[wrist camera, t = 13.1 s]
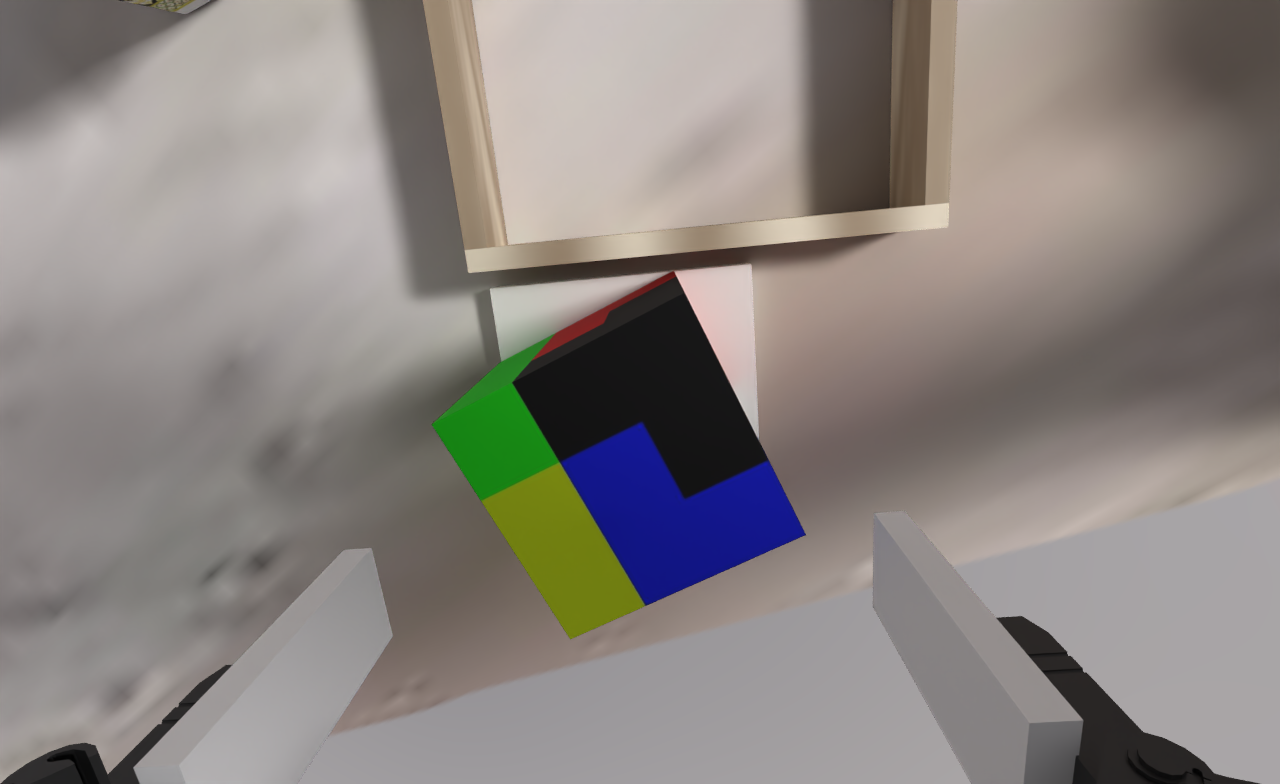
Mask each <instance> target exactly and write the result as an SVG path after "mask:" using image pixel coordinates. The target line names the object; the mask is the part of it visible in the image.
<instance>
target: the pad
mask: <svg viewBox="0 0 1280 784" xmlns="http://www.w3.org/2000/svg"><path fill="white" fill-rule="evenodd" d="M672 271H674V272H675V274H676V276H677V278H678V280H679V282H680V284H681V286H682V288H683V290H684V292H685V294H686V296H687V298H688V300H689V302H690V304H691V306H692V308H693V310H694V312H695V314H696V316H697V318H698V320H699V322H700V324H701V326H702V328H703V330H704V332H705V334H706V336H707V338H708V340H709V342H710V344H711V346H712V348H713V350H714V352H715V354H716V356H717V358H718V360H719V362H720V364H721V366H722V368H723V370H724V372H725V374H726V376H727V378H728V380H729V382H730V384H731V386H732V388H733V390H734V392H735V394H736V396H737V398H738V400H739V402H740V404H741V406H742V408H743V410H744V412H745V414H746V416H747V418H748V420H749V422H750V424H751V426H752V428H753V430H754V432H755V434H756V436H757V438H758V440H759V425H758V402H757V379H756V357H755V334H754V311H753V288H752V266H751V264H750V263H742V264H731V265H720V266H710V267H699V268H689V269H678V270H668V271H657V272H646V273H636V274H625V275H615V276H604V277H594V278H583V279H572V280H562V281H551V282H541V283H530V284H519V285H509V286H498V287H493V288H490V295H491V301H492V307H493V313H494V320H495V326H496V332H497V338H498V345H499V351H500V357H501V362H502V361H504V360H505V359H507V358H509V357H511V356H513V355H515V354H517V353H519V352H521V351H523V350H524V349H526V348H528V347H530V346H532V345H534V344H536V343H538V342H540V341H541V340H543V339H545V338H547V337H549V336H551V335H553V334H555V333H557V332H559V331H560V330H562V329H564V328H566V327H568V326H570V325H572V324H574V323H576V322H577V321H579V320H581V319H583V318H585V317H587V316H589V315H591V314H593V313H594V312H596V311H598V310H600V309H602V308H604V307H606V306H608V305H610V304H612V303H613V302H615V301H617V300H619V299H621V298H623V297H625V296H627V295H629V294H630V293H632V292H634V291H636V290H638V289H640V288H642V287H644V286H646V285H648V284H649V283H651V282H653V281H655V280H657V279H659V278H661V277H663V276H665V275H666V274H668V273H670V272H672Z"/></svg>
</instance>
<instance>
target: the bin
mask: <svg viewBox="0 0 1280 784" xmlns="http://www.w3.org/2000/svg"><path fill="white" fill-rule="evenodd" d="M423 5H424V11H425V17H426V23H427V29H428V35H429V41H430V47H431V53H432V59H433V65H434V71H435V77H436V83H437V89H438V95H439V101H440V107H441V113H442V119H443V125H444V130H445V136H446V142H447V148H448V154H449V160H450V166H451V172H452V178H453V184H454V190H455V196H456V202H457V208H458V214H459V220H460V226H461V232H462V238H463V244H464V250H465V256H466V262H467V268H468V273H475V272H485V271H496V270H506V269H517V268H527V267H537V266H548V265H558V264H569V263H579V262H590V261H600V260H611V259H621V258H631V257H642V256H652V255H663V254H673V253H684V252H694V251H705V250H715V249H726V248H736V247H746V246H757V245H767V244H778V243H788V242H799V241H809V240H820V239H830V238H840V237H851V236H861V235H872V234H882V233H893V232H903V231H914V230H924V229H934V228H945V227H948V217H949V193H950V169H951V144H952V120H953V95H954V71H955V47H956V22H957V0H893V10H892V73H891V137H890V201H889V208H884V209H873V210H863V211H853V212H843V213H832V214H822V215H812V216H802V217H791V218H781V219H771V220H760V221H750V222H740V223H730V224H719V225H709V226H699V227H689V228H678V229H668V230H658V231H648V232H637V233H627V234H617V235H607V236H596V237H586V238H576V239H566V240H555V241H545V242H535V243H525V244H514V245H508V242H507V236H506V229H505V222H504V216H503V209H502V202H501V195H500V189H499V182H498V175H497V169H496V162H495V155H494V148H493V142H492V135H491V128H490V121H489V115H488V108H487V101H486V95H485V88H484V81H483V74H482V68H481V61H480V54H479V47H478V41H477V34H476V27H475V21H474V14H473V7H472V0H423Z"/></svg>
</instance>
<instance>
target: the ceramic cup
mask: <svg viewBox="0 0 1280 784" xmlns="http://www.w3.org/2000/svg"><path fill="white" fill-rule="evenodd" d="M119 1H124V2H129V3H134V4H139V5H144V6H150V7H154V8H158V9H162V10H166V11H172V12H177V13H182V14H188V13H190V12H192V11H193V10H195V9H197V8H199V7H200V6H202V5H204V4H206V3H207V2H209V1H211V0H119Z"/></svg>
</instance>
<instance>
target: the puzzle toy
mask: <svg viewBox="0 0 1280 784" xmlns="http://www.w3.org/2000/svg"><path fill="white" fill-rule="evenodd" d="M432 426H433V427H434V429H435V430H436V432H437V434H438V435H439V437H440V438H441V440H442V441H443V443H444V444H445V446H446V448H447V449H448V451H449V452H450V454H451V455H452V457H453V458H454V460H455V461H456V463H457V465H458V466H459V468H460V469H461V471H462V472H463V474H464V475H465V477H466V478H467V480H468V482H469V483H470V485H471V486H472V488H473V489H474V491H475V492H476V494H477V496H478V497H479V499H480V500H481V502H482V503H483V505H484V506H485V508H486V509H487V511H488V513H489V514H490V516H491V517H492V519H493V520H494V522H495V523H496V525H497V527H498V528H499V530H500V531H501V533H502V534H503V536H504V537H505V539H506V540H507V542H508V544H509V545H510V547H511V548H512V550H513V551H514V553H515V554H516V556H517V557H518V559H519V561H520V562H521V564H522V565H523V567H524V568H525V570H526V571H527V573H528V575H529V576H530V578H531V579H532V581H533V582H534V584H535V585H536V587H537V588H538V590H539V592H540V593H541V595H542V596H543V598H544V599H545V601H546V602H547V604H548V606H549V607H550V609H551V610H552V612H553V613H554V615H555V616H556V618H557V619H558V621H559V623H560V624H561V626H562V627H563V629H564V630H565V632H566V633H567V635H568V636H569V638H570V639H572V638H574V637H577V636H579V635H581V634H583V633H586V632H588V631H590V630H592V629H595V628H597V627H599V626H601V625H604V624H606V623H608V622H610V621H613V620H615V619H617V618H620V617H622V616H624V615H626V614H629V613H631V612H633V611H635V610H638V609H640V608H642V607H644V606H647V605H649V604H651V603H653V602H656V601H658V600H660V599H662V598H665V597H667V596H669V595H671V594H674V593H676V592H678V591H680V590H683V589H685V588H687V587H689V586H692V585H694V584H696V583H698V582H701V581H703V580H705V579H707V578H710V577H712V576H714V575H717V574H719V573H721V572H723V571H726V570H728V569H730V568H732V567H735V566H737V565H739V564H741V563H744V562H746V561H748V560H750V559H753V558H755V557H757V556H759V555H762V554H764V553H766V552H768V551H771V550H773V549H775V548H777V547H780V546H782V545H784V544H786V543H789V542H791V541H793V540H795V539H798V538H800V537H802V536H804V535H806V534H805V532H804V530H803V528H802V526H801V524H800V522H799V520H798V518H797V516H796V514H795V512H794V510H793V508H792V506H791V504H790V502H789V500H788V498H787V496H786V494H785V492H784V490H783V488H782V486H781V484H780V482H779V480H778V478H777V476H776V474H775V472H774V470H773V468H772V466H771V464H770V462H769V460H768V458H767V456H766V454H765V452H764V450H763V448H762V446H761V444H760V442H759V440H758V438H757V436H756V434H755V432H754V430H753V428H752V426H751V424H750V422H749V420H748V418H747V416H746V414H745V412H744V410H743V408H742V406H741V404H740V402H739V400H738V398H737V396H736V394H735V392H734V390H733V388H732V386H731V384H730V382H729V380H728V378H727V376H726V374H725V372H724V370H723V368H722V366H721V364H720V362H719V360H718V358H717V356H716V354H715V352H714V350H713V348H712V346H711V344H710V342H709V340H708V338H707V336H706V334H705V332H704V330H703V328H702V326H701V324H700V322H699V320H698V318H697V316H696V314H695V312H694V310H693V308H692V306H691V304H690V302H689V300H688V298H687V296H686V294H685V292H684V290H683V288H682V286H681V284H680V282H679V280H678V278H677V276H676V274H675V272H674V271H672V272H670V273H668V274H666V275H665V276H663V277H661V278H659V279H657V280H655V281H653V282H651V283H649V284H648V285H646V286H644V287H642V288H640V289H638V290H636V291H634V292H632V293H630V294H629V295H627V296H625V297H623V298H621V299H619V300H617V301H615V302H613V303H612V304H610V305H608V306H606V307H604V308H602V309H600V310H598V311H596V312H594V313H593V314H591V315H589V316H587V317H585V318H583V319H581V320H579V321H577V322H576V323H574V324H572V325H570V326H568V327H566V328H564V329H562V330H560V331H559V332H557V333H555V334H553V335H551V336H549V337H547V338H545V339H543V340H541V341H540V342H538V343H536V344H534V345H532V346H530V347H528V348H526V349H524V350H523V351H521V352H519V353H517V354H515V355H513V356H511V357H509V358H507V359H505V360H504V361H502V362H500V363H499V364H498V365H497V366H496V367H494V368H493V369H492V370H491V371H490V372H489V373H488V374H487V375H486V376H485V377H483V378H482V379H481V380H480V381H479V382H478V383H477V384H476V385H475V386H473V387H472V388H471V389H470V390H469V391H468V392H467V393H466V394H465V395H464V396H462V397H461V398H460V399H459V400H458V401H457V402H456V403H455V404H454V405H452V406H451V407H450V408H449V409H448V410H447V411H446V412H445V413H444V414H442V415H441V416H440V417H439V418H438V419H437V420H436V421H435V422H434V423H433V424H432Z"/></svg>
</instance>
